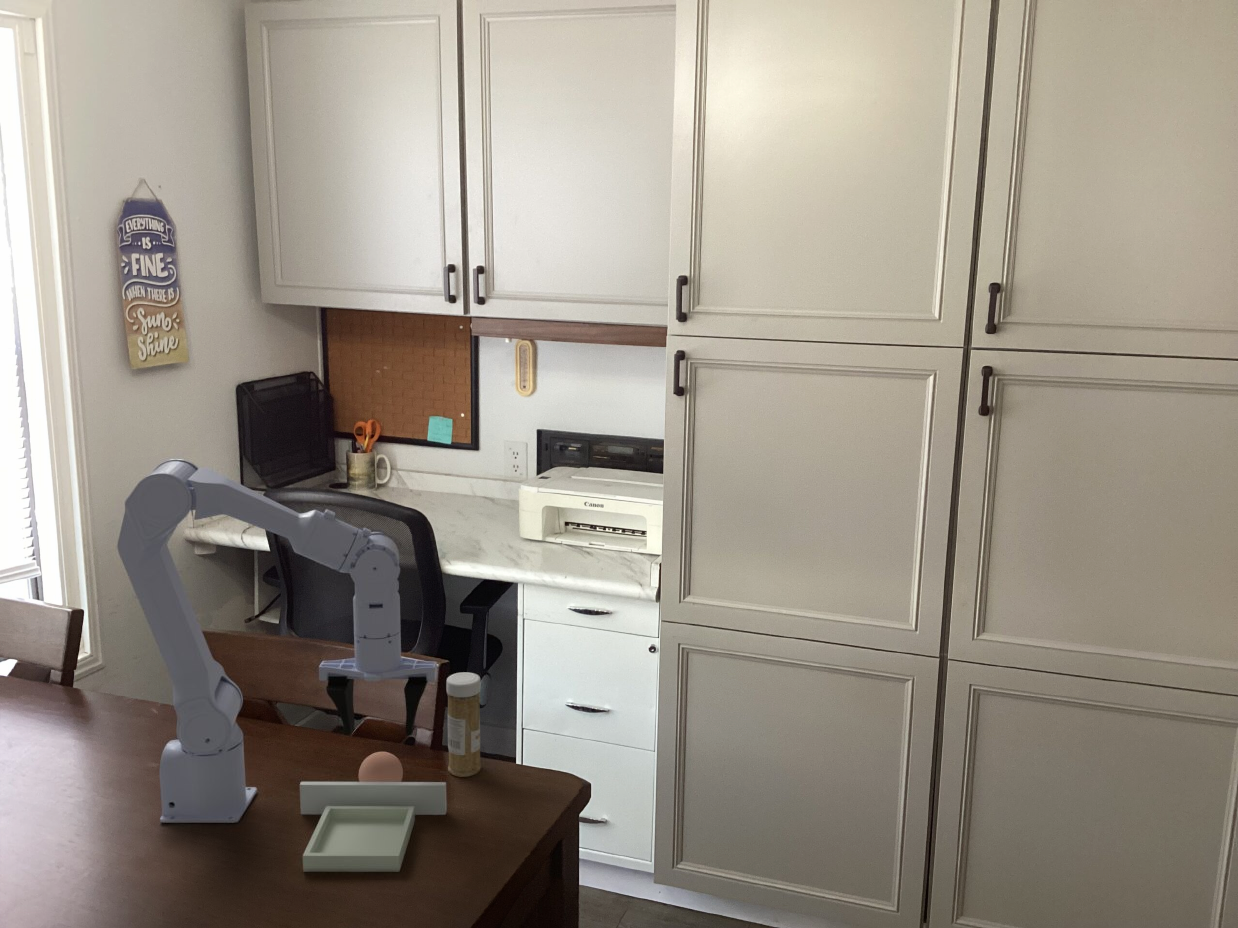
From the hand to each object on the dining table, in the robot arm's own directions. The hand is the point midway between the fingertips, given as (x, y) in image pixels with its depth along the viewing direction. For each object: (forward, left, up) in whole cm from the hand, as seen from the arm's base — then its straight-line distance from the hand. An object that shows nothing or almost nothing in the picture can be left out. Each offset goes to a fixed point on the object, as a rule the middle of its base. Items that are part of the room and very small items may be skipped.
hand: (380, 731), depth 132 cm
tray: (0, -12, -9) cm, 15 cm away
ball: (0, 0, -6) cm, 6 cm away
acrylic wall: (0, -5, -9) cm, 10 cm away
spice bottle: (+10, +6, -9) cm, 15 cm away
